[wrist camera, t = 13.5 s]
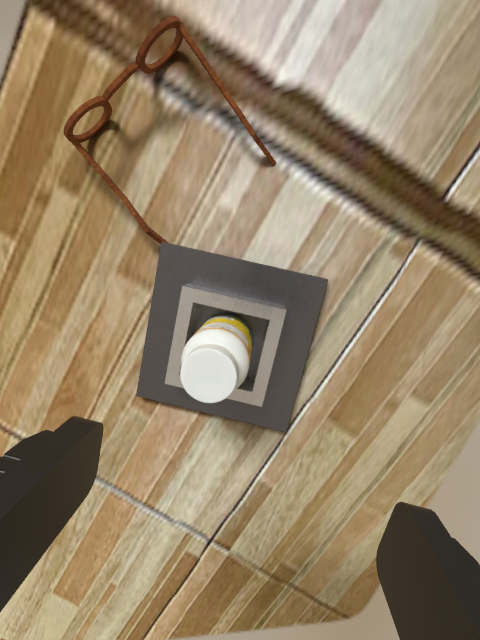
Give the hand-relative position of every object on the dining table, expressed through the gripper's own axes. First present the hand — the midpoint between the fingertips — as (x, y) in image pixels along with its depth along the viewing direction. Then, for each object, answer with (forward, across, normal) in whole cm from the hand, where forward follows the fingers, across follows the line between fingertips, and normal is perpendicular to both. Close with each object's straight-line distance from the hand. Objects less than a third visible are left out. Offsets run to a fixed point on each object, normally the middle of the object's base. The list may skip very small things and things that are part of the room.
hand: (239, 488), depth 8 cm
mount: (+23, +3, +3) cm, 24 cm away
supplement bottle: (+22, +3, +3) cm, 23 cm away
